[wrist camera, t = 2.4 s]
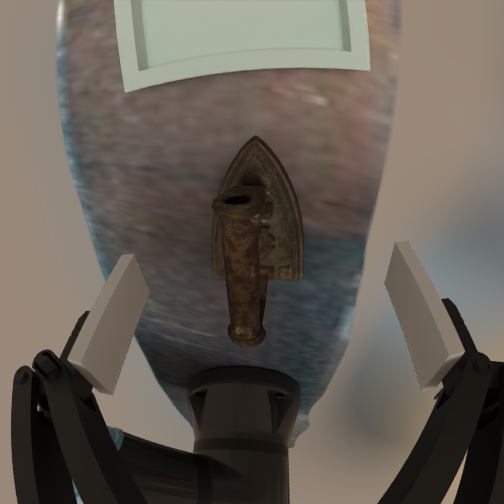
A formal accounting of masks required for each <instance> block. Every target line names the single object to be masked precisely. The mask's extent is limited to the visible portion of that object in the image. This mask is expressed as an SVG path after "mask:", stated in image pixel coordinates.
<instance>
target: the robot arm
mask: <svg viewBox="0 0 504 504" xmlns="http://www.w3.org/2000/svg"><path fill="white" fill-rule="evenodd" d="M385 286H386V288H387V291H388V293H389V296H390V298H391V301H392V304H393V306H394V309H395V311H396V314H397V317H398V320H399V322H400V325H401V328H402V331H403V334H404V337H405V340H406V342H407V345H408V349H409V352H410V355H411V358H412V361H413V365H414V368H415V371H416V375H417V378H418V382H419V384H420V389H421V391H424V390H428V389H432V388H436V387H437V385H438V384H439V383H440V382H441V381H442V383H443V386H444V387H443V388H442V389H441V390H440V391H439V392H438V393H437V395H436V396H435V397H434V399H437V398H438V399H437V402H436V404H435V406H434V408H433V411H432V413H431V415H430V417H429V419H428V421H427V423H426V425H425V427H424V429H423V431H422V433H421V435H420V437H419V439H418V441H417V443H416V444H415V446H414V448H413V450H412V452H411V453H410V455H409V457H408V459H407V460H406V462H405V464H404V465H403V467H402V468H401V470H400V472H399V473H398V475H397V476H396V478H395V479H394V481H393V482H392V484H391V485H390V487H389V488H388V490H387V491H386V492H385V494H384V495H383V497H382V498H381V499H380V501H379V502H378V504H441V502H442V500H443V499H444V497H445V495H446V493H447V491H448V490H449V488H450V486H451V484H452V482H453V480H454V478H455V476H456V474H457V472H458V470H459V468H460V465H461V463H462V461H463V459H464V456H465V454H466V452H467V456H466V461H465V465H464V470H463V473H462V477H461V480H460V484H459V487H458V491H457V494H456V497H455V500H454V503H453V504H504V362H496V361H490V359H489V358H488V357H487V356H486V355H485V354H483V353H480V352H478V351H477V349H476V347H475V344H474V342H473V340H472V338H471V336H470V333H469V331H468V329H467V327H466V325H465V324H464V321H463V319H462V317H461V316H460V313H459V311H458V309H457V307H456V305H455V304H454V303H453V302H452V301H450V299H449V298H447V299H441V298H440V296H439V295H438V293H437V291H436V289H435V287H434V285H433V283H432V281H431V280H430V278H429V276H428V274H427V272H426V271H425V269H424V267H423V265H422V264H421V262H420V260H419V259H418V257H417V255H416V254H415V252H414V250H413V249H412V247H411V245H410V244H409V242H395V245H394V249H393V253H392V257H391V261H390V265H389V269H388V273H387V276H386V280H385ZM149 294H150V291H149V289H148V286H147V284H146V282H145V279H144V277H143V275H142V272H141V270H140V267H139V265H138V262H137V260H136V257H135V255H134V254H125V255H122V256H121V257H120V259H119V261H118V262H117V264H116V266H115V267H114V269H113V271H112V272H111V274H110V276H109V278H108V279H107V281H106V283H105V285H104V287H103V288H102V290H101V292H100V294H99V296H98V298H97V299H96V301H95V303H94V305H93V307H92V309H91V311H86V312H85V313H84V314H83V315H82V316H81V317H80V318H79V319H78V321H77V323H76V326H75V329H73V331H72V333H71V336H70V337H69V339H68V342H67V343H66V346H65V348H64V350H63V352H62V354H61V356H60V358H58V357H57V356H56V355H55V354H54V353H53V352H52V351H51V350H43V351H41V352H40V353H38V354H37V355H36V357H35V358H34V361H33V365H32V368H33V369H34V370H35V372H34V371H33V370H32V369H31V368H30V367H28V366H22V367H20V368H19V369H18V370H17V372H16V373H15V376H14V381H13V392H12V409H11V446H12V463H13V474H14V482H15V489H16V496H17V501H18V504H290V502H289V501H290V500H289V458H288V443H289V439H290V436H291V433H292V430H293V427H294V424H295V421H296V418H297V414H298V411H299V408H300V389H299V386H298V384H297V383H296V382H295V381H294V380H292V379H291V378H289V377H287V376H285V375H283V374H281V373H278V372H274V371H270V370H266V369H260V368H252V367H223V368H216V369H211V370H207V371H204V372H201V373H199V374H197V375H196V376H194V377H193V378H192V380H191V381H190V384H189V390H188V396H187V400H188V406H189V411H190V416H191V421H192V426H193V430H194V435H195V442H194V450H193V453H189V452H186V451H182V450H178V449H174V448H171V447H167V446H164V445H161V444H158V443H155V442H151V441H148V440H145V439H142V438H139V437H137V436H134V435H131V434H128V433H126V432H123V431H122V430H121V429H119V428H112V427H109V426H106V423H105V421H104V419H103V416H102V414H101V411H100V409H99V406H98V404H97V401H96V399H95V396H94V394H93V393H92V392H91V391H92V388H93V387H94V388H95V389H97V390H98V391H99V392H100V393H105V394H109V395H113V393H114V390H115V387H116V384H117V380H118V378H119V375H120V372H121V368H122V366H123V363H124V360H125V357H126V354H127V351H128V348H129V346H130V343H131V340H132V337H133V335H134V332H135V329H136V327H137V324H138V321H139V319H140V316H141V314H142V311H143V309H144V306H145V304H146V301H147V299H148V296H149ZM37 405H38V406H39V407H40V408H39V411H37ZM467 449H468V451H467Z"/></svg>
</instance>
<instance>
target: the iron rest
mask: <svg viewBox="0 0 504 504" xmlns="http://www.w3.org/2000/svg"><path fill="white" fill-rule="evenodd" d="M114 6H115V19H116V29H117V39H118V47H119V55H120V62H121V69H122V76H123V82H124V89H125V93H126V92H130V91H135V90H139V89H143V88H147V87H151V86H156V85H160V84H164V83H169V82H174V81H179V80H184V79H189V78H195V77H201V76H207V75H214V74H222V73H230V72H239V71H250V70H264V69H286V68H321V69H343V70H357V71H370V52H369V37H368V25H367V15H366V6H365V0H114Z"/></svg>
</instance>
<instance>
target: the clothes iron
mask: <svg viewBox="0 0 504 504" xmlns="http://www.w3.org/2000/svg"><path fill="white" fill-rule="evenodd" d="M212 208H213V209H214V212H215V213H214V220H213V229H212V265H213V274H214V278H217V279H220V280H226V286H227V296H228V304H229V314H230V325H229V327H228V335H229V337H230V338H231V340H232V342H234V343H235V344H236V345H238V346H240V347H252V346H257V345H258V344H260V343H262V342H263V340H264V339H265V335H266V331H265V329H264V327H263V325H262V323H263V316H264V310H265V303H266V292H267V282H268V280H299V279H302V278H303V264H304V235H303V225H302V218H301V212H300V208H299V204H298V200H297V197H296V194H295V191H294V188H293V186H292V184H291V181H290V179H289V177H288V175H287V173H286V171H285V169H284V167H283V166H282V164H281V162H280V161H279V159H278V158H277V156H276V155H275V154H274V152H273V151H272V150H271V149H270V148H269V147H268V146H267V144H266V143H265V142H264V141H263V140H261V139H260V138H259V137H258V136H254V137H253V138H252V139H250V140H249V141H248V142H247V143H246V144H245V145H244V146H243V147H242V148H241V150H240V151H239V152H238V154H237V156H236V157H235V159H234V160H233V162H232V163H231V165H230V167H229V169H228V171H227V173H226V175H225V177H224V180H223V182H222V186H221V189H220V192H219V195H218V197H217V198H216V199H214V201H213V204H212Z"/></svg>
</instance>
